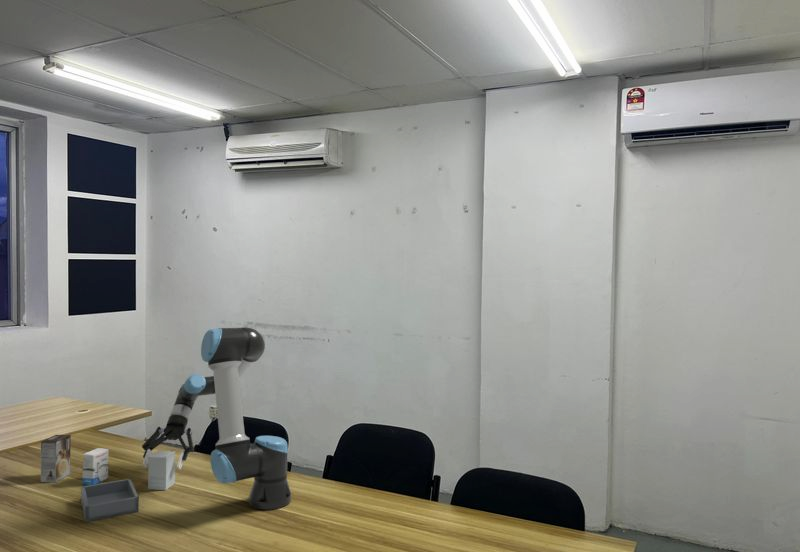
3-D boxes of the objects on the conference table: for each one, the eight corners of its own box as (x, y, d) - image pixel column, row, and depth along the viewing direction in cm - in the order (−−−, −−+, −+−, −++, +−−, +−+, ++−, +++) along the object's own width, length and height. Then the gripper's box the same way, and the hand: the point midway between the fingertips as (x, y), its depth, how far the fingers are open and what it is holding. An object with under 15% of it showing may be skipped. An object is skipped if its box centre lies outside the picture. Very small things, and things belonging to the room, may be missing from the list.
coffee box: (54, 473, 224) (55, 434, 224) (70, 474, 224) (71, 434, 224) (39, 482, 215) (40, 441, 215) (56, 482, 215) (56, 441, 215)
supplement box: (175, 483, 217) (176, 451, 217) (165, 490, 210) (166, 457, 210) (157, 482, 218) (158, 450, 218) (147, 489, 210) (147, 456, 210)
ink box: (92, 485, 213) (93, 455, 213) (81, 484, 214) (82, 454, 214) (108, 477, 221) (109, 448, 221) (97, 476, 222) (98, 447, 222)
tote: (138, 511, 191) (138, 497, 191) (85, 522, 182) (85, 507, 182) (130, 491, 208) (130, 478, 208) (80, 500, 199) (81, 486, 199)
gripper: (211, 424, 231) (195, 472, 216) (152, 421, 232) (132, 470, 217) (206, 414, 226) (190, 464, 211) (146, 412, 227) (126, 461, 212)
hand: (161, 467), depth 214 cm, fingers open, 13 cm apart
